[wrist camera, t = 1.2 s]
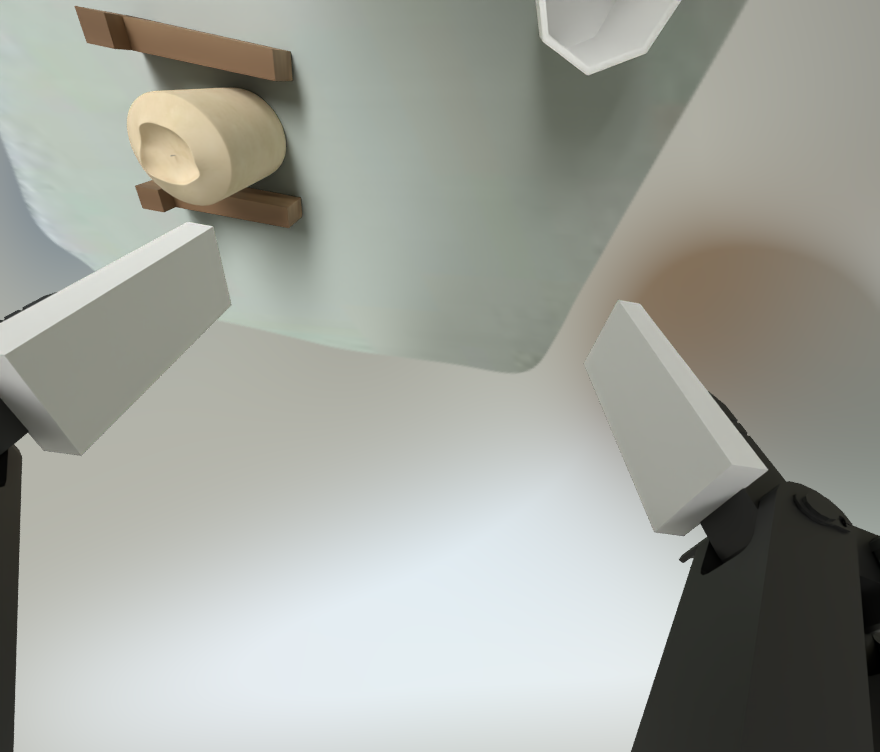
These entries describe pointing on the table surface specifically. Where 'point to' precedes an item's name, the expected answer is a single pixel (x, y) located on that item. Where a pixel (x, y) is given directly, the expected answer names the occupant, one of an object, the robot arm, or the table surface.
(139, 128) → the candle
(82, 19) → the wooden stepped bars
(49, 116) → the table surface
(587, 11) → the cup
